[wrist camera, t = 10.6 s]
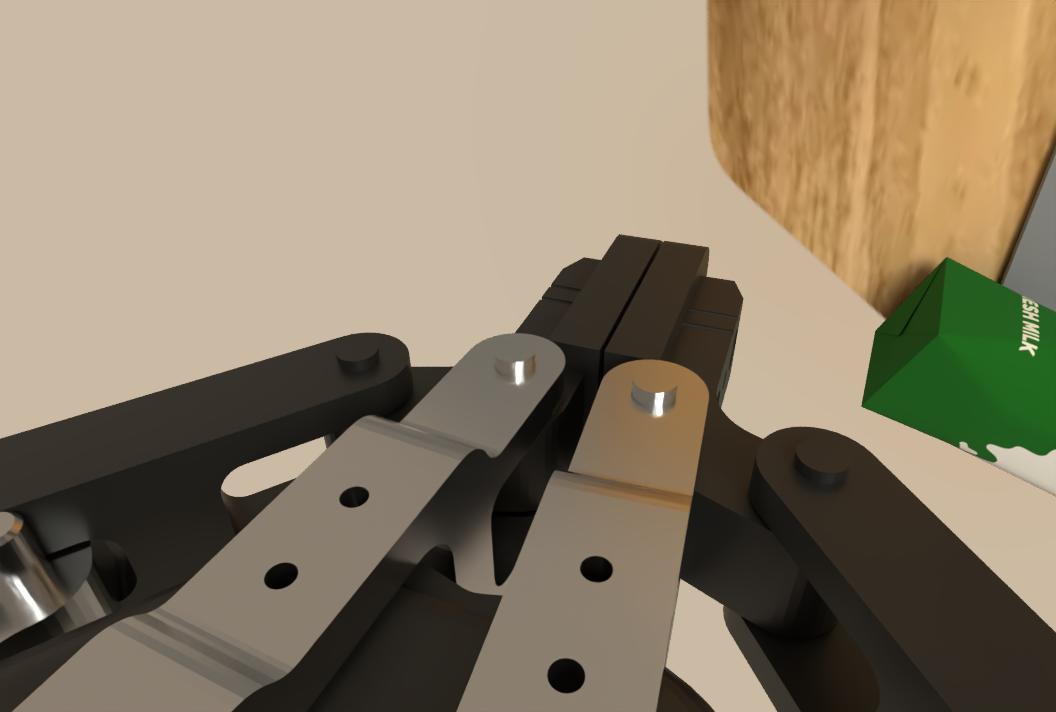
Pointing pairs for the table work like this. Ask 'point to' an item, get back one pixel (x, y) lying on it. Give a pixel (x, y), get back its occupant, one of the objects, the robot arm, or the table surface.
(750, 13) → the table surface
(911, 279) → the table surface
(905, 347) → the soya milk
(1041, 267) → the mat
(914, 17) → the table surface
